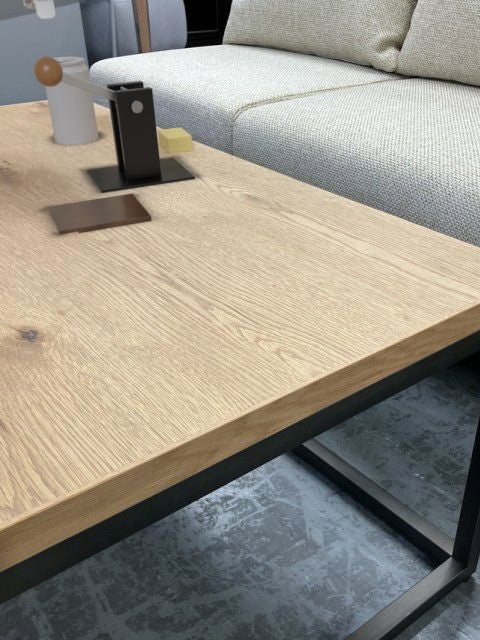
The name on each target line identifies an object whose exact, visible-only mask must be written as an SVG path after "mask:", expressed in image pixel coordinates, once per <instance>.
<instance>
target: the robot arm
mask: <svg viewBox="0 0 480 640" xmlns="http://www.w3.org/2000/svg"><path fill="white" fill-rule="evenodd" d="M22 1H23V6H24V7H26V8H27V9H29V10H35V14H36V16H37V17H38V18H39V19H41V20H52V19H54V18H55V17H56V13H57V12H56V8H55V1H54V0H22Z"/></svg>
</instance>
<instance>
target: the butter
mask: <svg viewBox="0 0 480 640" xmlns="http://www.w3.org/2000/svg"><path fill="white" fill-rule="evenodd" d="M157 139H158V146H160V147H161V148H162V149H163V150H164V151H166V153H167V154H169V155H171V154H178V153H179V154H180V153H187V152H193V151H194V149H193V137H192V134H190V133H189V132H187V130H185V129H184V128H182V127H181V126H180V127H179V126H178V127H172V128H171V127H170V128H163V129H157Z"/></svg>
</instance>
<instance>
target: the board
mask: <svg viewBox="0 0 480 640" xmlns="http://www.w3.org/2000/svg"><path fill="white" fill-rule="evenodd" d="M46 210H47V212H48V214H49V217H50V218H51V220H52V223H53V225H54V226H55V228H56V230H57V233H58V234H59V235H65V234H70V233H78V234H82V233H83V234H84V233H88V232H95V231H100V230H107V229H112V228H118V227H125V226H130V225H136V224H141V223H147V222H152V215H151V214H150V213H149V212H148V211H147V209H146V208H145V207H144V205H142V203H141V202H140V201H139V200H138V198H137V197H136V196H135V195H134V193H127V194H121V195H114V196H107V197H101V198H95V199H90V200H89V199H87V200H80V201H75V202H69V203H62V204H55V205H49V206H46Z"/></svg>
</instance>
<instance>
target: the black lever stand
mask: <svg viewBox="0 0 480 640" xmlns="http://www.w3.org/2000/svg"><path fill="white" fill-rule="evenodd" d="M105 86H106V88H108V89H111V90H113V91H114V94H115V101H113V100H110V99H108V98H107V99H108V105H109V113H110V114H109V115H110V120H111V127H112V134H113V141H114V150H115V155H116V163H117V165H113V166H104V167H98V168H90V169H89V168H88V169H86V170H85V171H86V174H87V175H88V177H89V178H90V180H91V181H92V183H94V185H95V187H96V188H97V189H98V190H99V192H100V193H101V194H105V193H111V192H120V191H124V190H125V191H126V190H131V189H138V188H145V187H152V186H157V185H165V184H172V183H179V182H185V181H192V180H195V175H193V174H192V173H191V172H190V171H189V170H188V169H186V167H184V166H183V165H182V163H180V162H179V161H178V160H177V159H175V158H174V157H169V158H163V159H162V158H161V159H160V151H159V149H160V148H159V138H158V128H157V122H156V120H157V119H156V112H155V102H154V93H153V88H152V87H151V86H147V87H146V86H145V84H144V81H142V80H137V81H126V82H116V83H106V85H105ZM121 87H124V88H126V89H127V90H120V88H121ZM115 105H116V106H115Z"/></svg>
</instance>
